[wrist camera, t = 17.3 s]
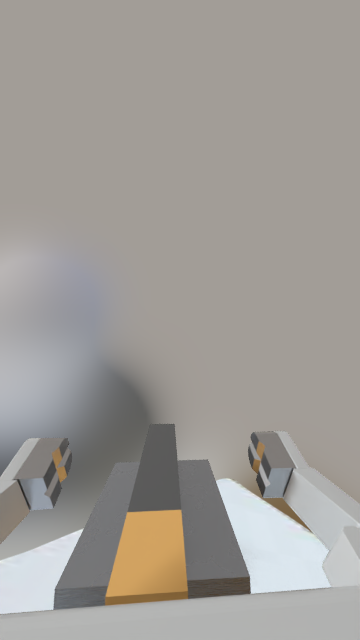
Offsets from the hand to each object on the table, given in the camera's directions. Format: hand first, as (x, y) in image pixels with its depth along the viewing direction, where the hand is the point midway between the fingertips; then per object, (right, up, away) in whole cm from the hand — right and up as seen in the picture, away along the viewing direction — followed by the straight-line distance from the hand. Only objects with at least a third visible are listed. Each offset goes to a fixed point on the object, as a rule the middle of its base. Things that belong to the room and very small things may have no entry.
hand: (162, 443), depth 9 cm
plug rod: (-1, -9, +7) cm, 11 cm away
